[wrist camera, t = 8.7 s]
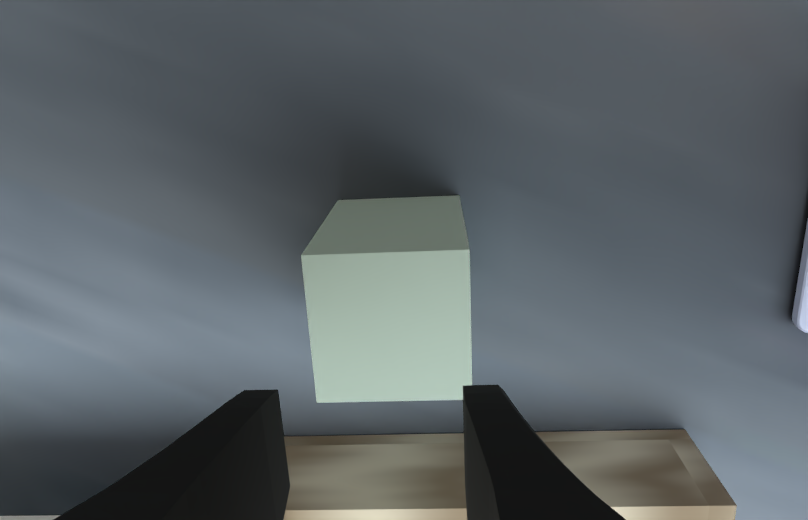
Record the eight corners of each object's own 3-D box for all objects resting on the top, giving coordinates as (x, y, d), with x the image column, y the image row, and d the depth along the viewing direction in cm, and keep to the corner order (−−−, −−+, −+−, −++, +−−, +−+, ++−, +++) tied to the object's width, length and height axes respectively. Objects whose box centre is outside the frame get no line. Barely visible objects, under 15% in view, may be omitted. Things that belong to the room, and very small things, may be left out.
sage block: (459, 195, 20) (469, 249, 14) (461, 308, 21) (472, 399, 16) (338, 199, 20) (301, 255, 15) (347, 311, 22) (316, 402, 16)
